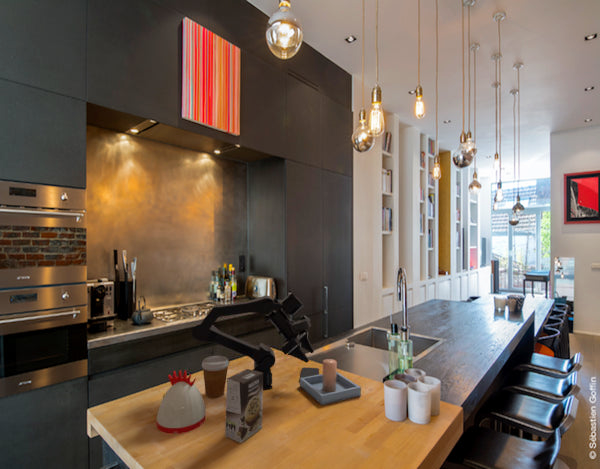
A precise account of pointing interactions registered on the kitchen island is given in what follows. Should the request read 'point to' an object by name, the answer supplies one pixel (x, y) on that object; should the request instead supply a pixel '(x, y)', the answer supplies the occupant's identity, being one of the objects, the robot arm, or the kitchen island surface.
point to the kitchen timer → (181, 406)
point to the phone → (308, 372)
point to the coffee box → (244, 405)
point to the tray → (343, 391)
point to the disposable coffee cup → (215, 375)
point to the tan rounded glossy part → (329, 375)
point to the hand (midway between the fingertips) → (310, 357)
